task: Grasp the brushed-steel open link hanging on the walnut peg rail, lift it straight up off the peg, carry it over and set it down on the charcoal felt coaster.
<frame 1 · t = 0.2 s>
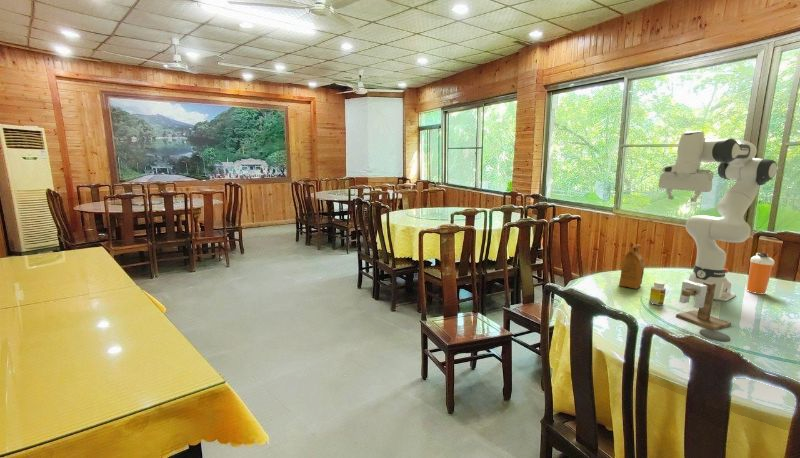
hand: (681, 200, 171), 48 cm above the table, fingers open, 8 cm apart
supplement bottle: (655, 304, 178), on the table
hook stand: (702, 321, 160), on the table
felt pad: (714, 335, 146), on the table
c link: (691, 304, 154), point 9 cm above the table, touching hook stand
shaker bottle: (755, 292, 199), on the table
coffee package: (630, 286, 203), on the table
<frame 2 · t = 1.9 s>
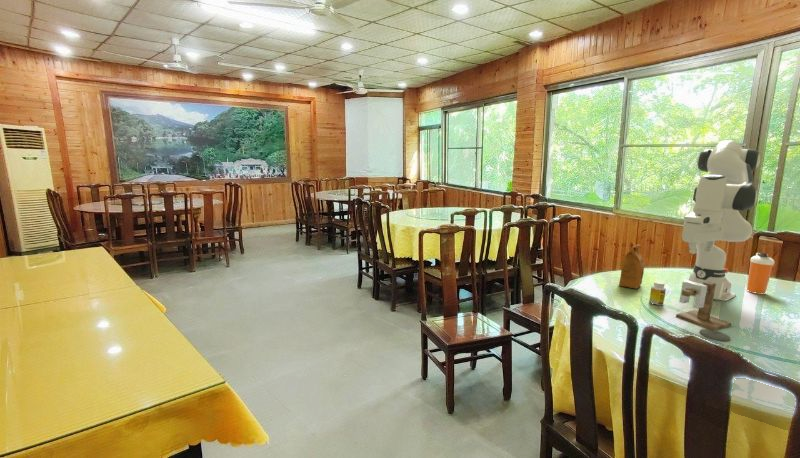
hand: (700, 252, 150), 30 cm above the table, fingers open, 8 cm apart
nothing on the table moved.
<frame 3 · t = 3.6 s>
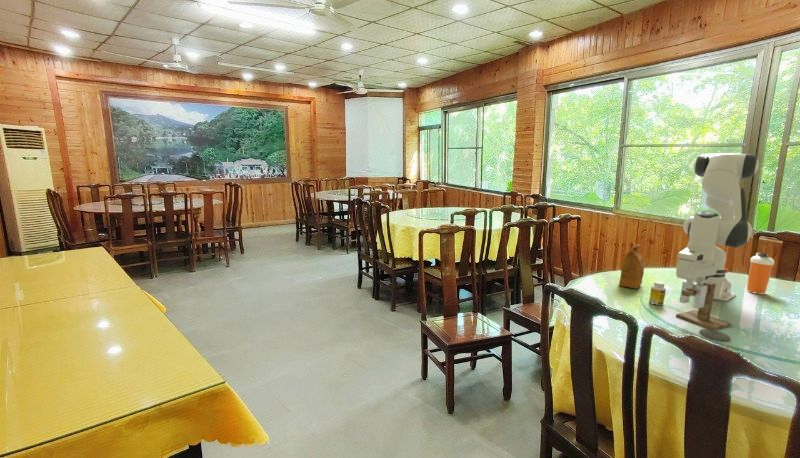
hand: (694, 287, 153), 16 cm above the table, fingers closed on c link, 3 cm apart
c link: (691, 304, 154), point 9 cm above the table, touching gripper, hook stand
everything else where it was.
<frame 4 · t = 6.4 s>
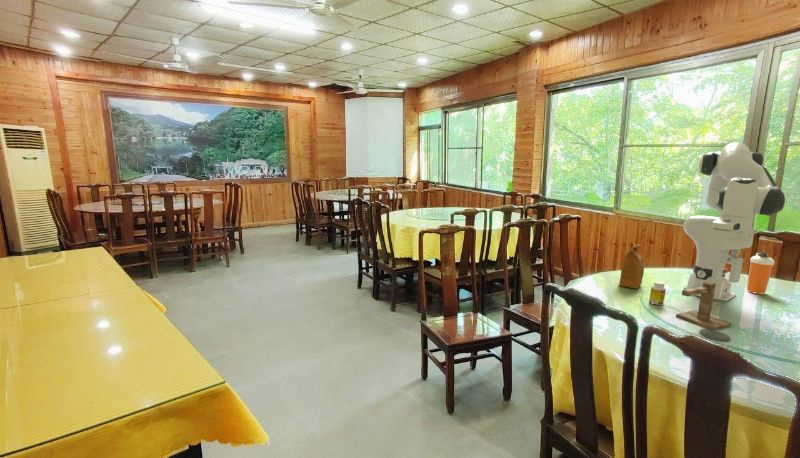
hand: (728, 260, 141), 29 cm above the table, fingers closed on c link, 3 cm apart
c link: (725, 279, 142), point 22 cm above the table, touching gripper
everything else where it was.
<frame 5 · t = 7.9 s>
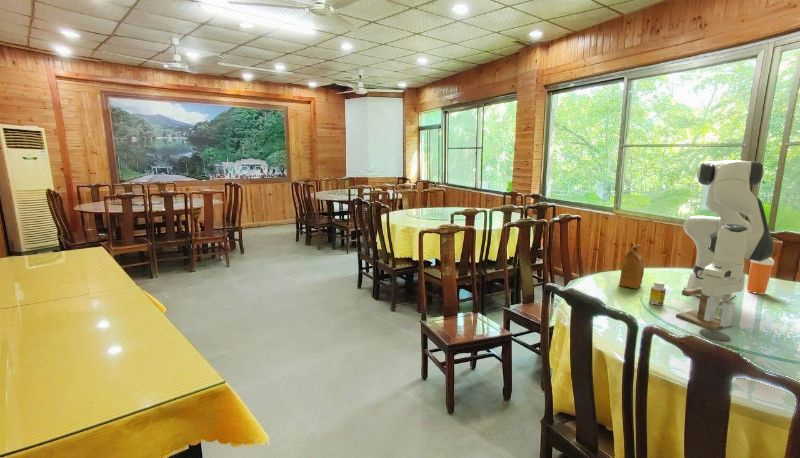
hand: (720, 304, 144), 12 cm above the table, fingers closed on c link, 3 cm apart
c link: (716, 322, 145), point 5 cm above the table, touching gripper
everything else where it was.
when the fingers open (9 cm above the table, at t = 9.0 s): c link stays where it is, resting on felt pad.
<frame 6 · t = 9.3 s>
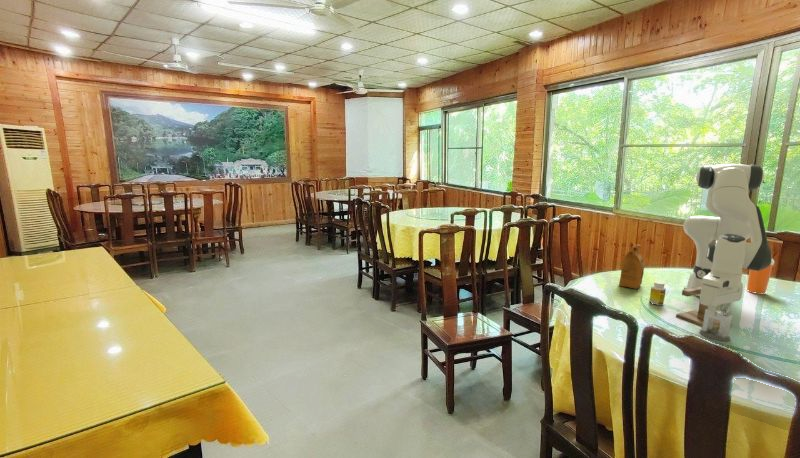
hand: (718, 314, 145), 9 cm above the table, fingers open, 6 cm apart
c link: (714, 334, 146), point 1 cm above the table, touching felt pad
everything else where it was.
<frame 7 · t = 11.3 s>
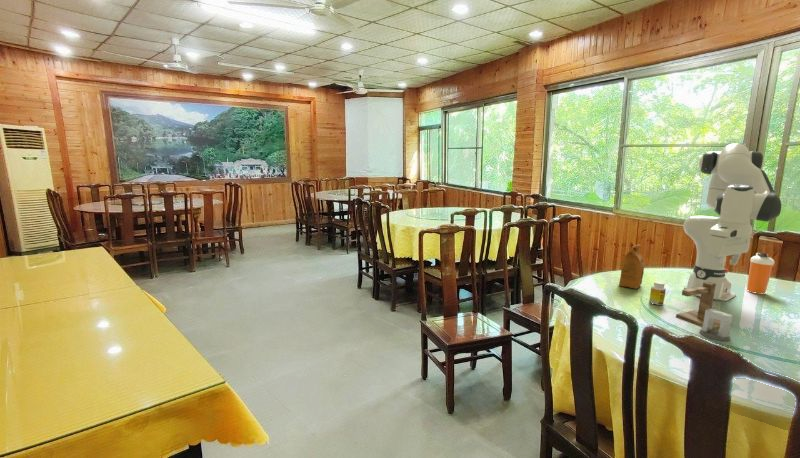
hand: (725, 265, 144), 27 cm above the table, fingers open, 8 cm apart
nothing on the table moved.
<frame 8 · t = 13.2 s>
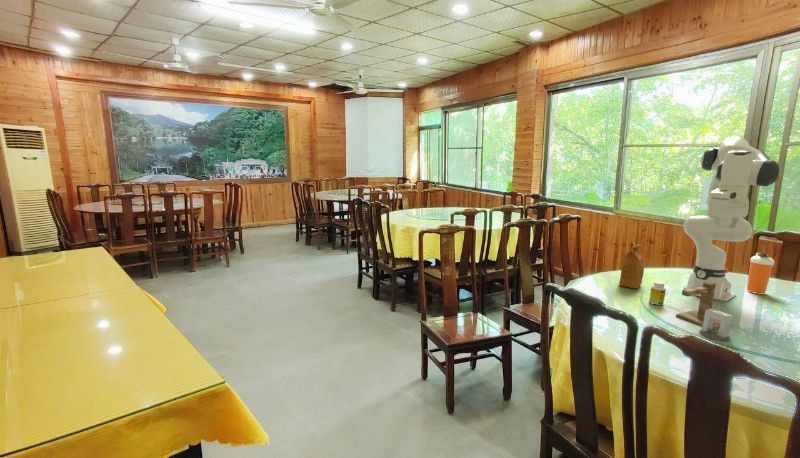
hand: (725, 229, 151), 39 cm above the table, fingers open, 8 cm apart
nothing on the table moved.
at the end: c link inside the target area on the felt pad (0.0 cm from its centre), point 0.6 cm above the felt pad's base; c link touching felt pad; the gripper is holding nothing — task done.
